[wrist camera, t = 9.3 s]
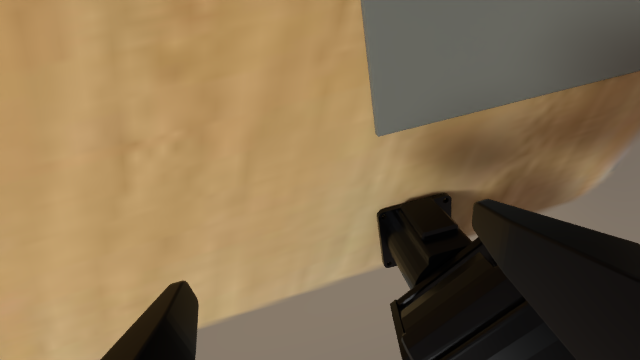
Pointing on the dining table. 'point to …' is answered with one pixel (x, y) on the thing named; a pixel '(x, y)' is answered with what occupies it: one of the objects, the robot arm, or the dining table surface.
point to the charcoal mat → (489, 53)
